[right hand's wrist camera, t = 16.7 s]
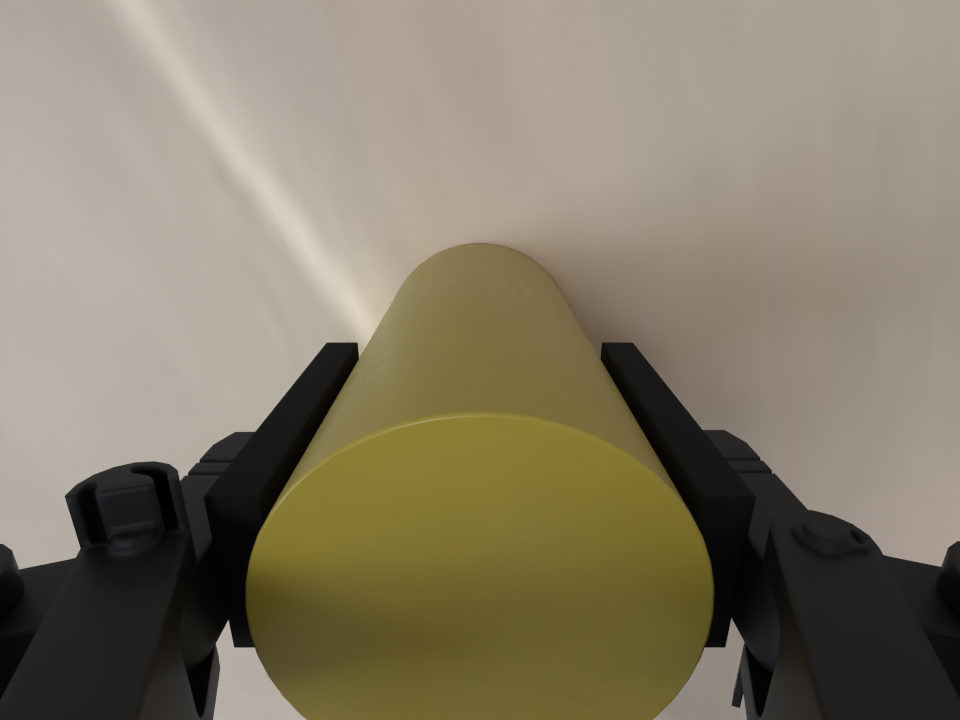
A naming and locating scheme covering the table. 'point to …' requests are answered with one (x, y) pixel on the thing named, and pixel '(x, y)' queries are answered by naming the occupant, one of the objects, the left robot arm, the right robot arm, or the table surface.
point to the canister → (479, 523)
